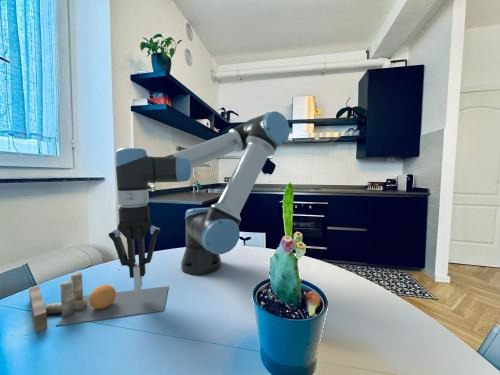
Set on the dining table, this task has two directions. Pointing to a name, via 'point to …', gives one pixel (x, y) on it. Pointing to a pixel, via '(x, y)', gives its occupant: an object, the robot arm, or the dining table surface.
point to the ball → (102, 297)
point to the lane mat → (122, 306)
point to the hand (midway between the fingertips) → (138, 287)
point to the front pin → (58, 308)
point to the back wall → (38, 309)
